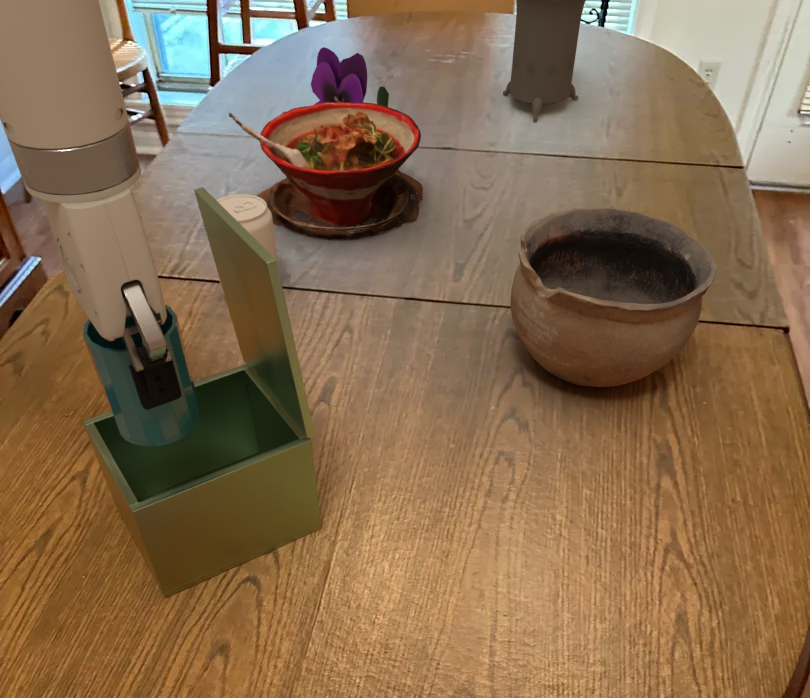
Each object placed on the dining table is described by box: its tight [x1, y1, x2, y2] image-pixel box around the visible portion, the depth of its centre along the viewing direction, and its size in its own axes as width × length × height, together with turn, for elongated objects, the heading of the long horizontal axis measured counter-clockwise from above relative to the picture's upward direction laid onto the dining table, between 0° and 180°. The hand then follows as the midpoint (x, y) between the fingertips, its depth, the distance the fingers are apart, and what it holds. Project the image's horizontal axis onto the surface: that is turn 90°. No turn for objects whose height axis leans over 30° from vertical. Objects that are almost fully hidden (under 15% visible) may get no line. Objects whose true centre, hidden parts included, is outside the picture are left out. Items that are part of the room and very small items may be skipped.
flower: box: [310, 47, 390, 107], centre depth 139 cm, size 15×15×14 cm
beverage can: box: [215, 193, 280, 298], centre depth 104 cm, size 8×8×12 cm
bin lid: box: [193, 186, 316, 438], centre depth 67 cm, size 17×14×1 cm
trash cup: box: [82, 304, 200, 446], centre depth 65 cm, size 7×7×10 cm
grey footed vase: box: [502, 0, 587, 123], centre depth 143 cm, size 19×15×25 cm
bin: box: [82, 363, 322, 599], centre depth 76 cm, size 17×14×12 cm
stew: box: [228, 102, 424, 241], centre depth 117 cm, size 28×24×16 cm
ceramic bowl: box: [509, 206, 717, 388], centre depth 92 cm, size 22×22×15 cm
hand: (144, 375), depth 65 cm, fingers closed on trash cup, 7 cm apart
